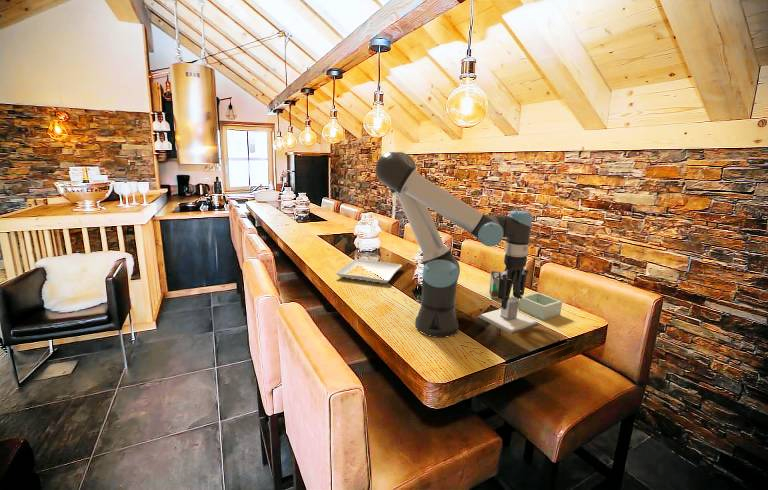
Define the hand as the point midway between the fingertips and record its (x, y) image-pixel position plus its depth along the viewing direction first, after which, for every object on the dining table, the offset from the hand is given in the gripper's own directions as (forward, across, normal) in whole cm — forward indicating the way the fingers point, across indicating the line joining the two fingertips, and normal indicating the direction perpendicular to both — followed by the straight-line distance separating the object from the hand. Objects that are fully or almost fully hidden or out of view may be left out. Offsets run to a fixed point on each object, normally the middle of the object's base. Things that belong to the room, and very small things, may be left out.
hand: (508, 314), depth 132 cm
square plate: (+3, -19, +71) cm, 74 cm away
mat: (+3, 0, 0) cm, 3 cm away
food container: (+3, +16, +19) cm, 25 cm away
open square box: (+3, +17, -1) cm, 17 cm away
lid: (+2, 0, 0) cm, 2 cm away
